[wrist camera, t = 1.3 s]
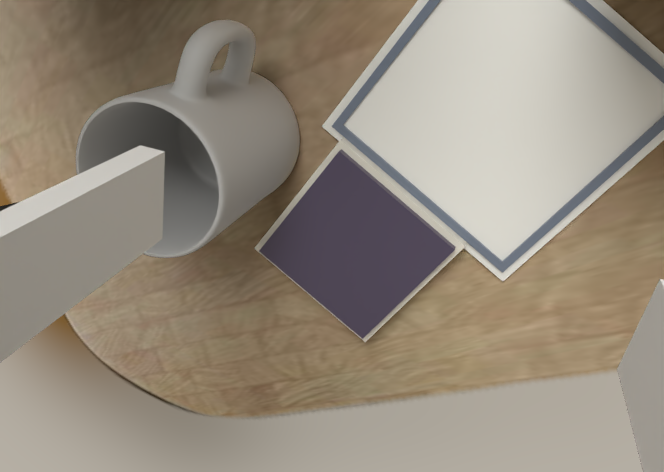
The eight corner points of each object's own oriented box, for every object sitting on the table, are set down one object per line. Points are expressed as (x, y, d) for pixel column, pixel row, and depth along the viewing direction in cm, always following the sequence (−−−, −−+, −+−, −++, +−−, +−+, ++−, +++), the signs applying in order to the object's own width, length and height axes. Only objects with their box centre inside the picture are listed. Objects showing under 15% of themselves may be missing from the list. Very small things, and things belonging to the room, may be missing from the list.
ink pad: (260, 241, 41) (251, 251, 40) (345, 135, 37) (337, 141, 35) (369, 333, 42) (363, 346, 40) (466, 239, 37) (464, 249, 35)
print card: (322, 125, 37) (320, 127, 37) (492, -97, 30) (491, -98, 30) (502, 280, 37) (502, 282, 37) (712, 96, 30) (714, 97, 30)
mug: (280, 215, 40) (203, 287, 30) (171, 165, 41) (63, 219, 31) (337, 42, 35) (265, 63, 25) (210, -10, 36) (94, -10, 26)
